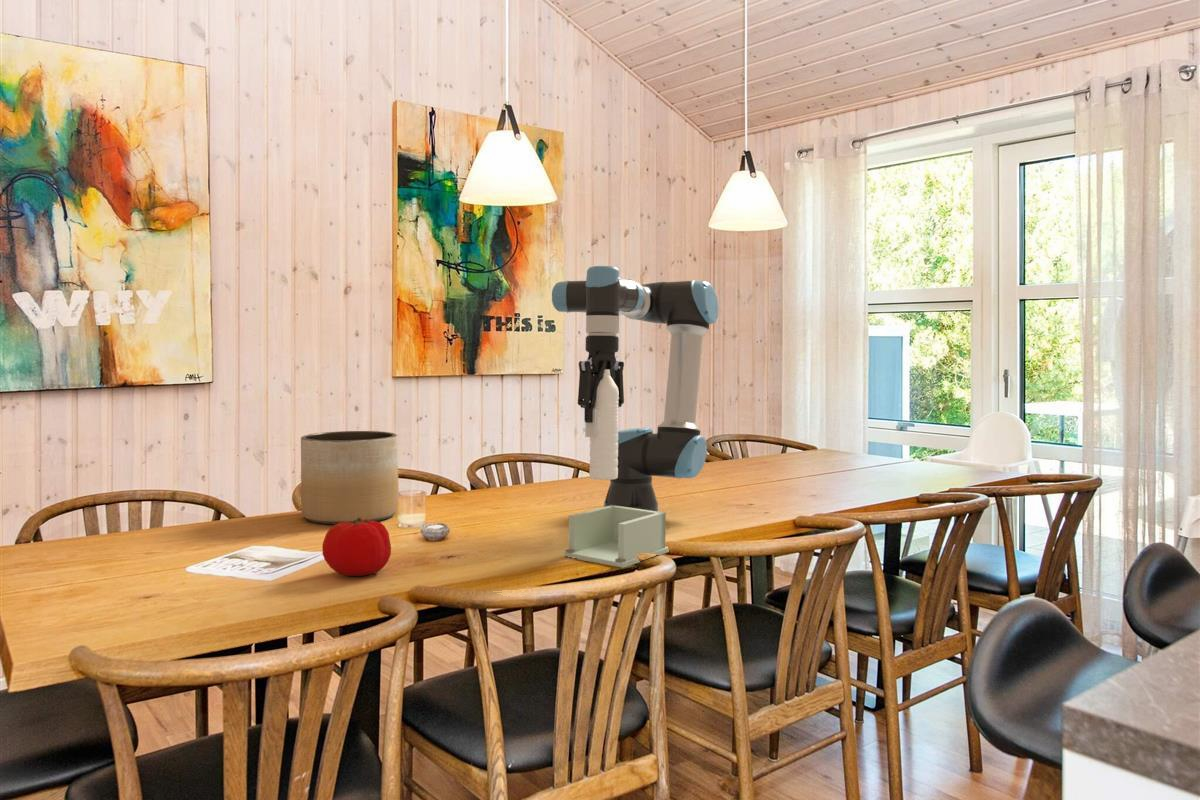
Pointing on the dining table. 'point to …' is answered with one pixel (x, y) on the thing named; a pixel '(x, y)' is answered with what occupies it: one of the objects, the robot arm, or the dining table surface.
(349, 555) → the tomato
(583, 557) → the u rest
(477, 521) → the dining table surface
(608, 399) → the water bottle
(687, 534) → the dining table surface
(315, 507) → the planter
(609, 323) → the robot arm
